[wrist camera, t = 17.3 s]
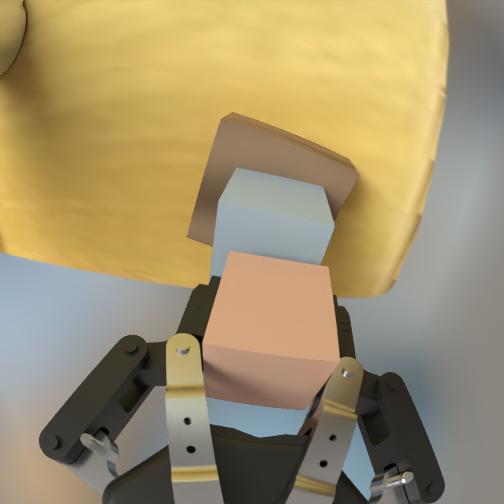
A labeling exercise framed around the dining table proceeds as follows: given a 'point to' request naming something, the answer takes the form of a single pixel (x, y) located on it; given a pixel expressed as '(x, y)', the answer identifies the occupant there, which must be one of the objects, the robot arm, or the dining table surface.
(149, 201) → the dining table surface
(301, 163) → the walnut base block
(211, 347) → the terracotta block
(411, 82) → the dining table surface
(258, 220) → the slate block
